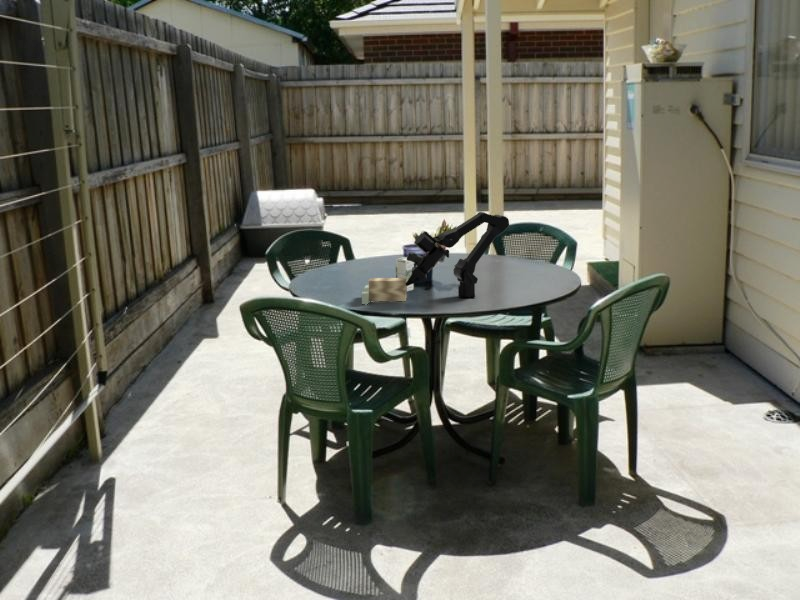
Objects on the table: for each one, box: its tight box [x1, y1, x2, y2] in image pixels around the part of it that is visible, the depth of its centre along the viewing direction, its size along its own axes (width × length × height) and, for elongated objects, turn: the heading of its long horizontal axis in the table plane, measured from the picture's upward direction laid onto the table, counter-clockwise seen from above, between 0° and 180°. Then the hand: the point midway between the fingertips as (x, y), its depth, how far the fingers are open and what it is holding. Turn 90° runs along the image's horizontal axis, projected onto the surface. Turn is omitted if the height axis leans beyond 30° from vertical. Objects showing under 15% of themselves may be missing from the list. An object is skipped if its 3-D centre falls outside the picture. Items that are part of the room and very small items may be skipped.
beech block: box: [368, 277, 407, 302], centre depth 361 cm, size 15×6×9 cm, turn 86°
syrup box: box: [395, 256, 415, 293], centre depth 378 cm, size 6×6×14 cm
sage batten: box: [361, 284, 370, 305], centre depth 362 cm, size 2×16×5 cm, turn 176°
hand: (406, 285), depth 360 cm, fingers closed, pressing on beech block
